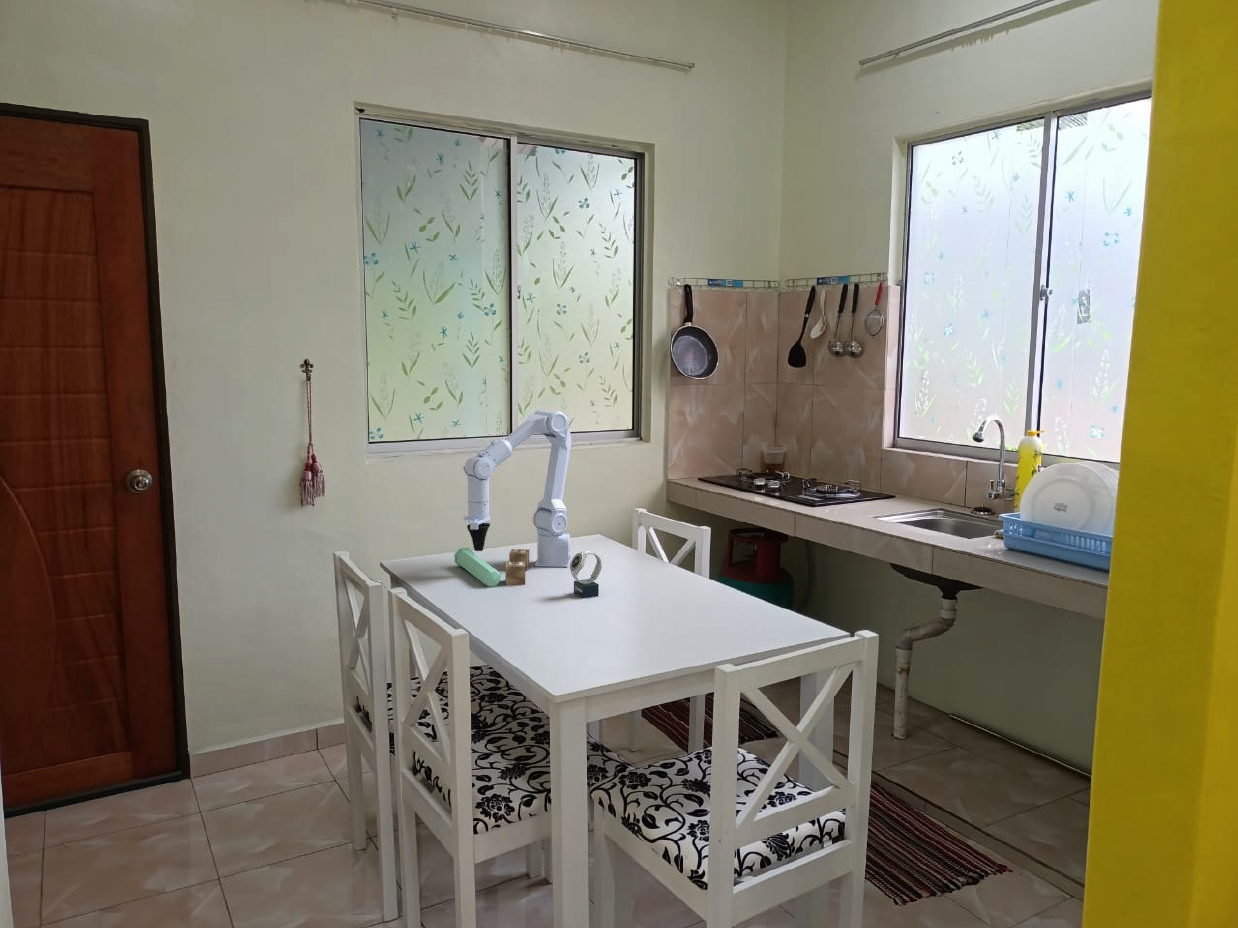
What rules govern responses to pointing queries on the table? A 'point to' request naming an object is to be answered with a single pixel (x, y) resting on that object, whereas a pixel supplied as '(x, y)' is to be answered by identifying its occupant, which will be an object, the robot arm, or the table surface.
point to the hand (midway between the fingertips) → (478, 550)
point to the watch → (586, 586)
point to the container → (477, 567)
